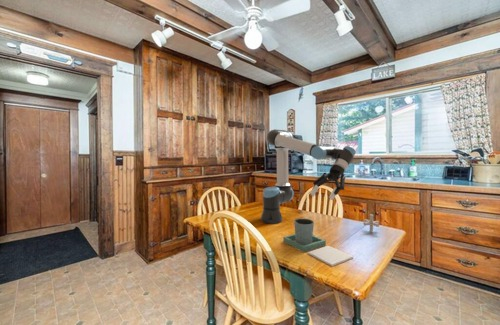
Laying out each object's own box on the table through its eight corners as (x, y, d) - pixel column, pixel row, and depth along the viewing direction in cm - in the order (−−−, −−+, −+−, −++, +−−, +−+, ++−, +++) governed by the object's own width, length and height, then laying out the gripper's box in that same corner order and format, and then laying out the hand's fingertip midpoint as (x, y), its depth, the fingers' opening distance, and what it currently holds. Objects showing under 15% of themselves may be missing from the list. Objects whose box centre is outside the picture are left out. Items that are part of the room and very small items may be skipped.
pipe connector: (371, 235, 129) (371, 217, 129) (358, 229, 139) (358, 213, 139) (384, 233, 132) (385, 216, 132) (371, 227, 142) (371, 212, 141)
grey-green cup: (299, 238, 126) (299, 217, 125) (317, 242, 120) (317, 220, 119) (290, 244, 118) (290, 221, 118) (308, 249, 112) (308, 225, 111)
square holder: (283, 241, 122) (283, 237, 122) (304, 235, 129) (304, 231, 129) (303, 252, 108) (303, 247, 108) (325, 245, 116) (325, 240, 116)
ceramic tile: (308, 253, 107) (308, 252, 107) (328, 247, 114) (328, 245, 114) (332, 266, 95) (332, 264, 95) (353, 258, 102) (353, 256, 102)
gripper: (361, 173, 122) (343, 204, 115) (325, 171, 143) (308, 197, 136) (355, 164, 119) (336, 195, 112) (319, 163, 140) (301, 189, 133)
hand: (320, 196), depth 124 cm, fingers open, 13 cm apart
